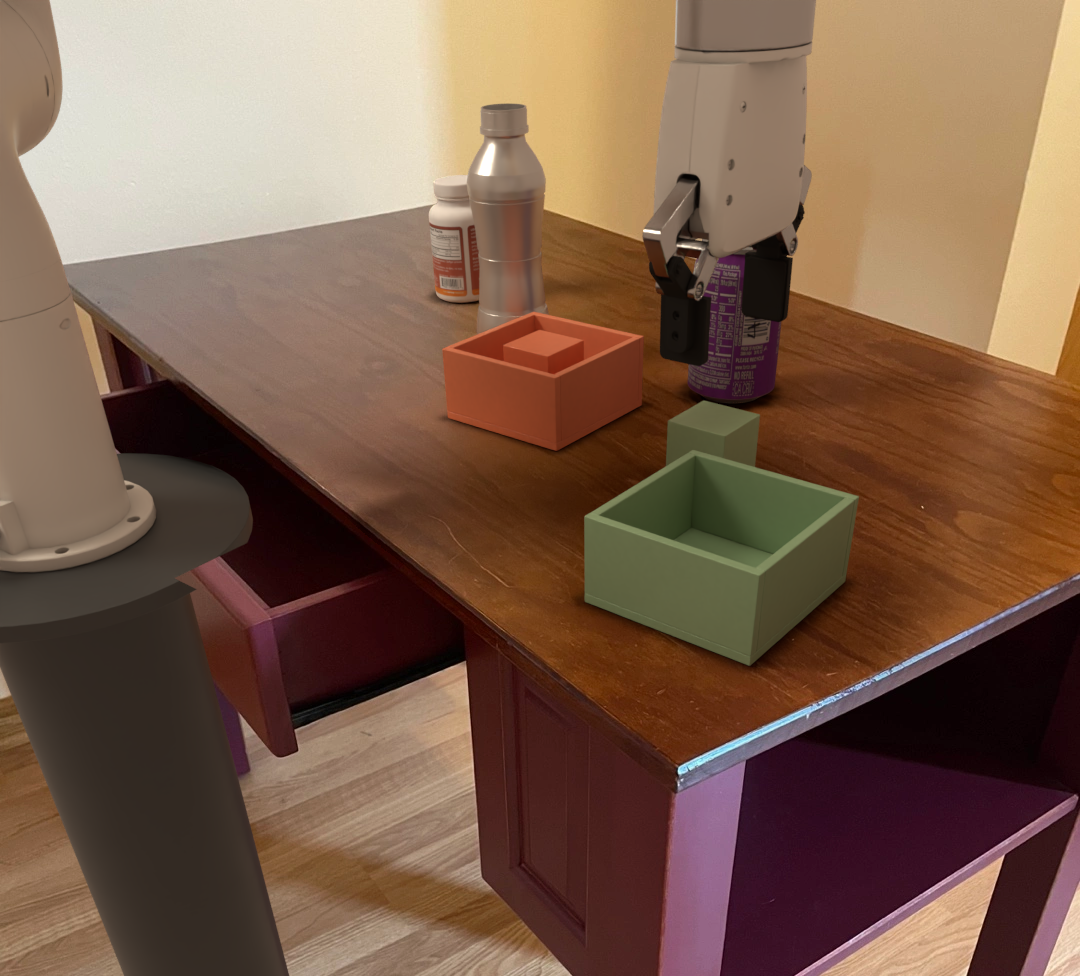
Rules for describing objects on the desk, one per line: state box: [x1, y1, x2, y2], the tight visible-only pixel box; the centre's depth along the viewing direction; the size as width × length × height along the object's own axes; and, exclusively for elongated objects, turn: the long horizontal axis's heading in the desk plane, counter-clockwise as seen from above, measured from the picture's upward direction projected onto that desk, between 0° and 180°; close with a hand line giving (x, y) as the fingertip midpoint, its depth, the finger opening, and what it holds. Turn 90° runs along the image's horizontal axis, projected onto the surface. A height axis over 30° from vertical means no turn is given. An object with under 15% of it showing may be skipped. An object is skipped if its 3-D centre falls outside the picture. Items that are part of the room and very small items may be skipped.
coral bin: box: [441, 312, 645, 452], centre depth 86 cm, size 11×11×6 cm
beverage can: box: [687, 239, 783, 405], centre depth 86 cm, size 7×7×12 cm
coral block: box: [503, 330, 584, 374], centre depth 86 cm, size 4×4×5 cm
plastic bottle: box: [467, 103, 550, 335], centre depth 92 cm, size 6×7×20 cm
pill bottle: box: [428, 174, 480, 304], centre depth 110 cm, size 6×6×11 cm
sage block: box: [665, 400, 761, 467], centre depth 74 cm, size 4×4×5 cm
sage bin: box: [583, 450, 860, 667], centre depth 63 cm, size 11×11×6 cm
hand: (725, 338), depth 70 cm, fingers open, 9 cm apart
